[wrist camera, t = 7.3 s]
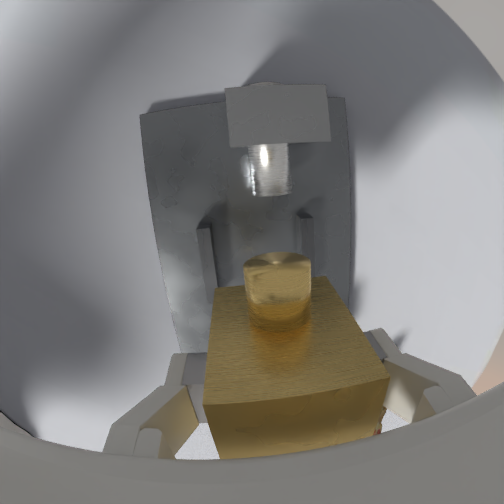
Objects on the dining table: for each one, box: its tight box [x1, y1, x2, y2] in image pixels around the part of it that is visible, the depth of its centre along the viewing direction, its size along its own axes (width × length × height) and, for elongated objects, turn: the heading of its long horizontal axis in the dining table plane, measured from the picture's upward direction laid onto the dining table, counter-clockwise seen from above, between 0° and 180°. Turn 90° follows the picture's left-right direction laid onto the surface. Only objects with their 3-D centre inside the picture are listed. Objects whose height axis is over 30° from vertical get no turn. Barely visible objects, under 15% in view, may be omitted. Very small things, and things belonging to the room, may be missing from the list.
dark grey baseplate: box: [140, 82, 351, 353], centre depth 19 cm, size 21×13×5 cm, turn 5°
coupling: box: [202, 252, 391, 459], centre depth 9 cm, size 7×4×6 cm, turn 5°
